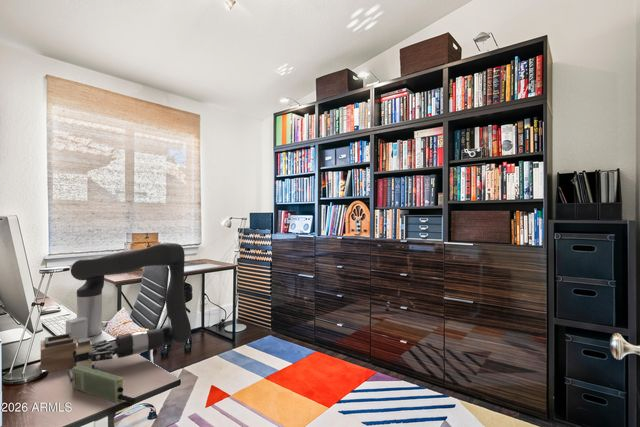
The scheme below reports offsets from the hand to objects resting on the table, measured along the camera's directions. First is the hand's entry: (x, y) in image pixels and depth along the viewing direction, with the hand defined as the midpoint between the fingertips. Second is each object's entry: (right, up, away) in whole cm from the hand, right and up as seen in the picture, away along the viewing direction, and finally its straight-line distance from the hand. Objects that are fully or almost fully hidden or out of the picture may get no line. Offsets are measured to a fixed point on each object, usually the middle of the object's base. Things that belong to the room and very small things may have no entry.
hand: (73, 356), depth 113 cm
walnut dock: (-11, -6, +9) cm, 16 cm away
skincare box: (-14, -6, +21) cm, 26 cm away
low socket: (+2, -6, +2) cm, 7 cm away
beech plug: (+2, -6, +2) cm, 7 cm away
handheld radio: (+17, -7, -11) cm, 21 cm away
